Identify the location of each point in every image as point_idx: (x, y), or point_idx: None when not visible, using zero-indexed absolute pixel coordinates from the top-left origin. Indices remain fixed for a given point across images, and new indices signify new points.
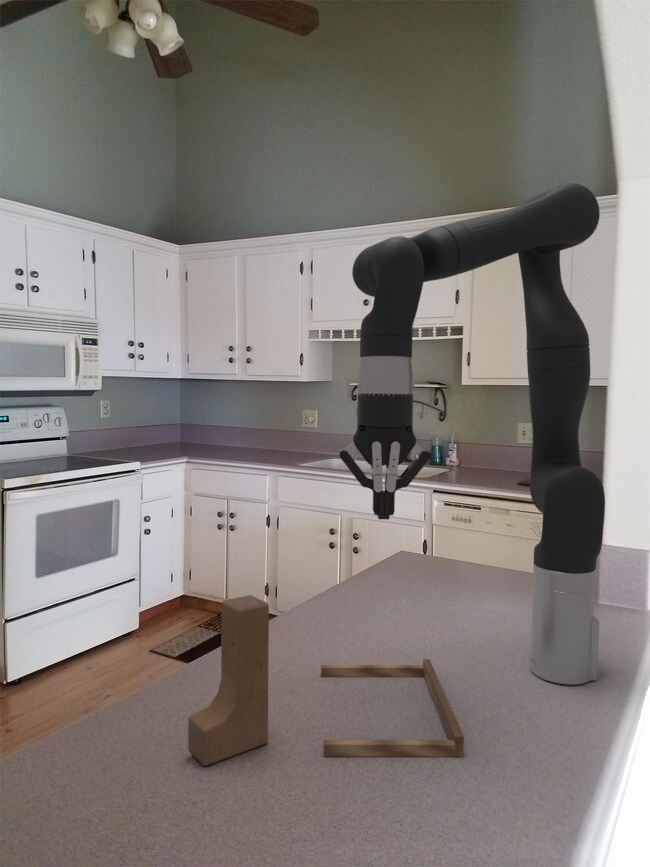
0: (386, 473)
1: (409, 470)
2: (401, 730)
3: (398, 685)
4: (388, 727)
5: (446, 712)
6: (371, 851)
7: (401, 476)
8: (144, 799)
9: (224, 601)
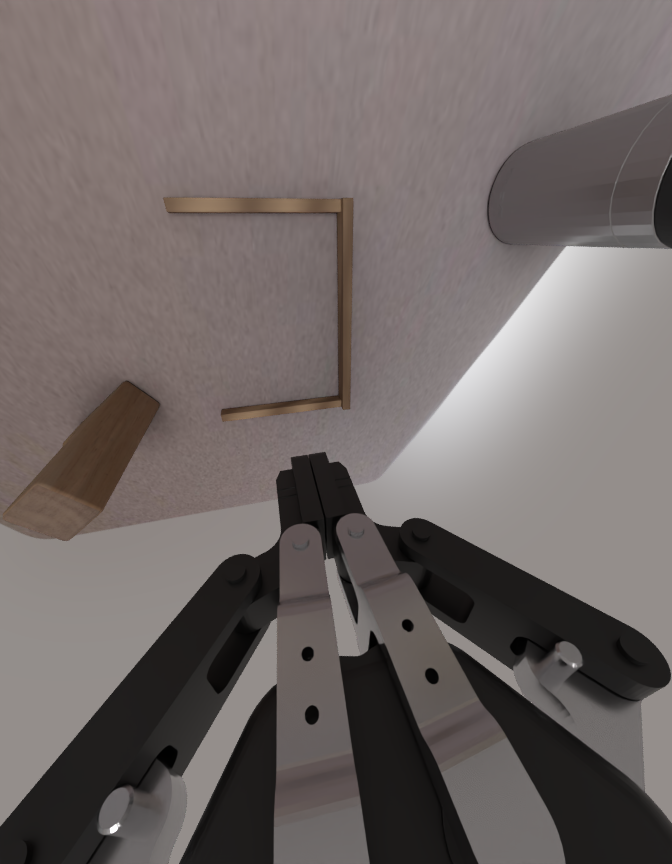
0: (359, 596)
1: (456, 629)
2: (295, 364)
3: (297, 244)
4: (282, 360)
5: (344, 368)
6: (272, 495)
7: (425, 564)
8: None
9: (9, 520)
